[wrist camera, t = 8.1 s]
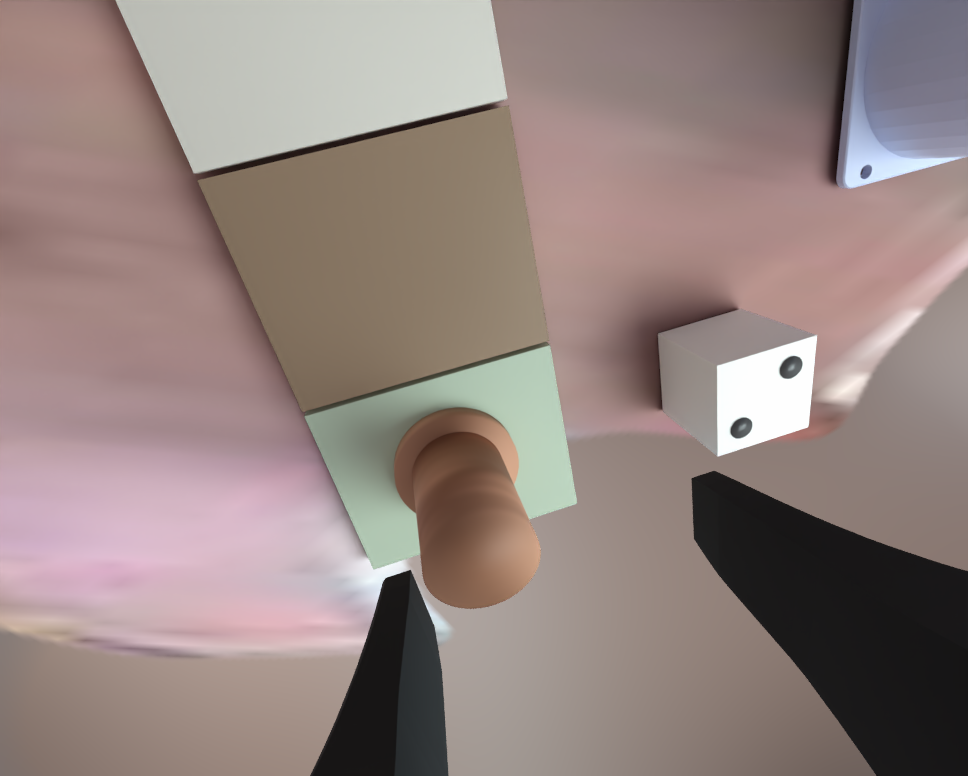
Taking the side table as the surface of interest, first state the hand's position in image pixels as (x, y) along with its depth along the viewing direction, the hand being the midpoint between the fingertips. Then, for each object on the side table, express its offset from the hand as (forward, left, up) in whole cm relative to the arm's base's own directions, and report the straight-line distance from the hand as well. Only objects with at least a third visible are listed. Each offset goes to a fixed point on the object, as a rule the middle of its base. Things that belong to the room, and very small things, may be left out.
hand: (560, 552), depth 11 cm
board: (+2, -6, -9) cm, 11 cm away
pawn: (+2, +2, -9) cm, 9 cm away
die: (-10, +2, -9) cm, 14 cm away
